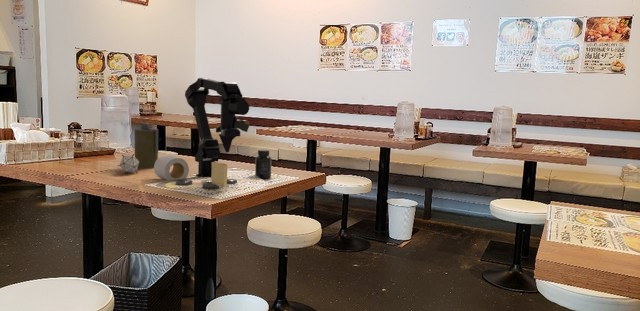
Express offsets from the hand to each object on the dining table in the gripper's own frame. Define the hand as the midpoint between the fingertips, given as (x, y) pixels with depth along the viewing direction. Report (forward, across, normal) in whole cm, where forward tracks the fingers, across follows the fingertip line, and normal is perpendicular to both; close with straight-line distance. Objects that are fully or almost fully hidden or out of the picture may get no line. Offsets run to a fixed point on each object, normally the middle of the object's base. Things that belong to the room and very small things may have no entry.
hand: (227, 152), depth 198 cm
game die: (+12, +25, +36) cm, 45 cm away
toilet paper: (+12, +4, +21) cm, 25 cm away
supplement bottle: (+12, +6, -17) cm, 22 cm away
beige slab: (+11, -21, +8) cm, 25 cm away
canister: (+12, +41, +28) cm, 51 cm away
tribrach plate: (+12, -10, +10) cm, 18 cm away
